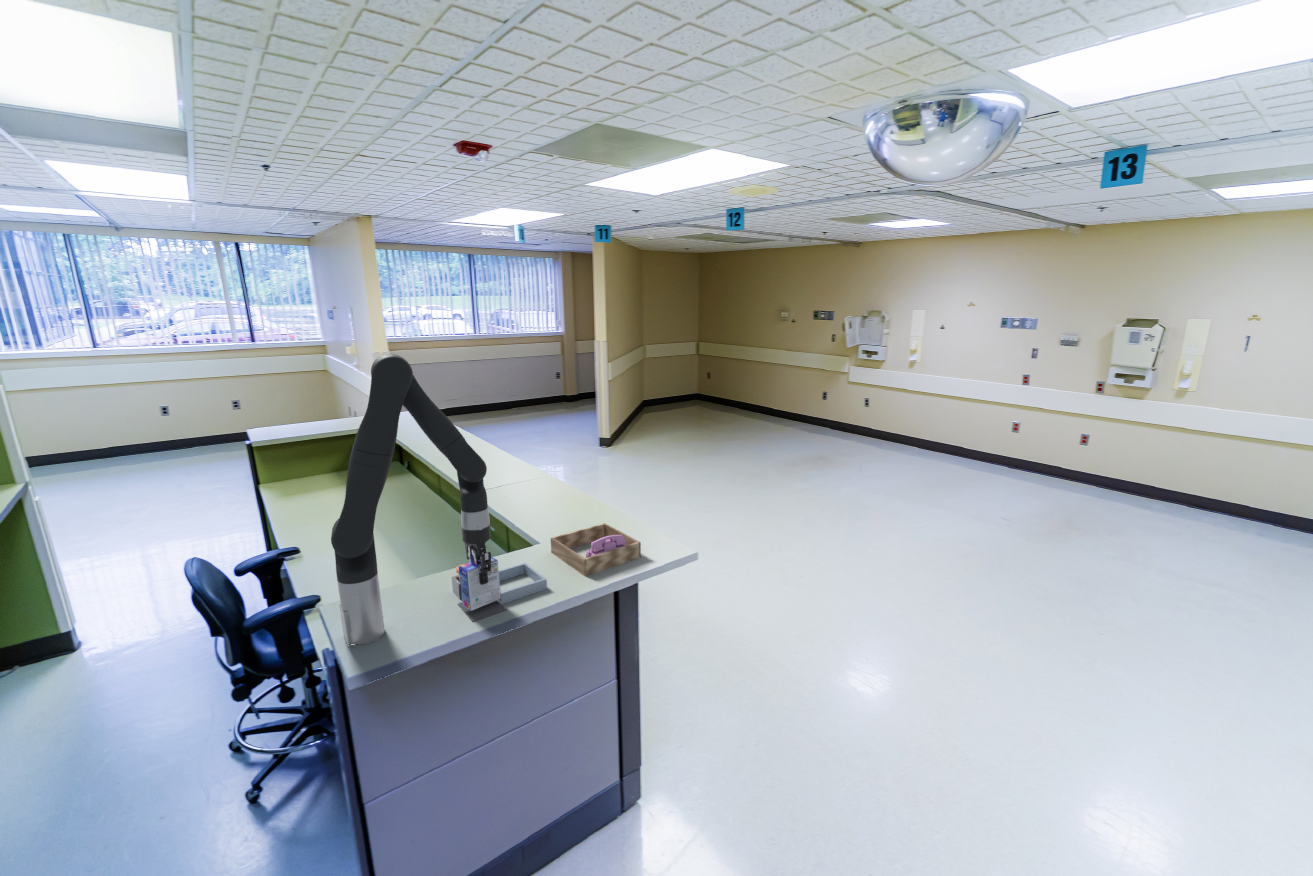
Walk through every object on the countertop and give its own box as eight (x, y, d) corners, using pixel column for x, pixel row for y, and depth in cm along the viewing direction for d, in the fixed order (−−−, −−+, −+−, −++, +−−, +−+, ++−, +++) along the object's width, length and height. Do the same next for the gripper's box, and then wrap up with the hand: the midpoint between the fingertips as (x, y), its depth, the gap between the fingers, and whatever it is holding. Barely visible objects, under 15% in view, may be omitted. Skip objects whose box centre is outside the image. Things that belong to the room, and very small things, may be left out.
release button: (461, 597, 166) (459, 572, 164) (455, 591, 169) (453, 566, 167) (476, 592, 168) (474, 568, 167) (470, 586, 172) (468, 562, 170)
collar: (501, 604, 162) (501, 593, 161) (482, 585, 173) (482, 575, 172) (547, 589, 171) (546, 579, 170) (526, 572, 182) (525, 562, 181)
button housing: (459, 600, 165) (458, 584, 164) (452, 592, 169) (451, 577, 168) (479, 593, 168) (478, 578, 167) (472, 586, 173) (471, 571, 172)
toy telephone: (621, 555, 195) (621, 529, 193) (631, 562, 190) (630, 534, 188) (575, 568, 185) (574, 540, 183) (584, 575, 180) (584, 547, 178)
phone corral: (584, 577, 179) (584, 559, 178) (551, 553, 196) (550, 537, 195) (640, 558, 193) (640, 542, 191) (604, 538, 210) (604, 523, 209)
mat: (472, 622, 153) (472, 621, 153) (457, 605, 162) (457, 603, 162) (507, 610, 159) (507, 609, 159) (490, 594, 168) (490, 593, 168)
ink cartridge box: (491, 592, 165) (488, 547, 162) (501, 598, 162) (499, 552, 158) (460, 605, 158) (457, 557, 155) (470, 612, 154) (467, 563, 151)
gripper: (453, 519, 158) (457, 574, 162) (471, 535, 147) (476, 593, 151) (479, 513, 162) (483, 567, 166) (498, 528, 151) (502, 585, 155)
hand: (479, 579), depth 158 cm, fingers closed on ink cartridge box, 5 cm apart
